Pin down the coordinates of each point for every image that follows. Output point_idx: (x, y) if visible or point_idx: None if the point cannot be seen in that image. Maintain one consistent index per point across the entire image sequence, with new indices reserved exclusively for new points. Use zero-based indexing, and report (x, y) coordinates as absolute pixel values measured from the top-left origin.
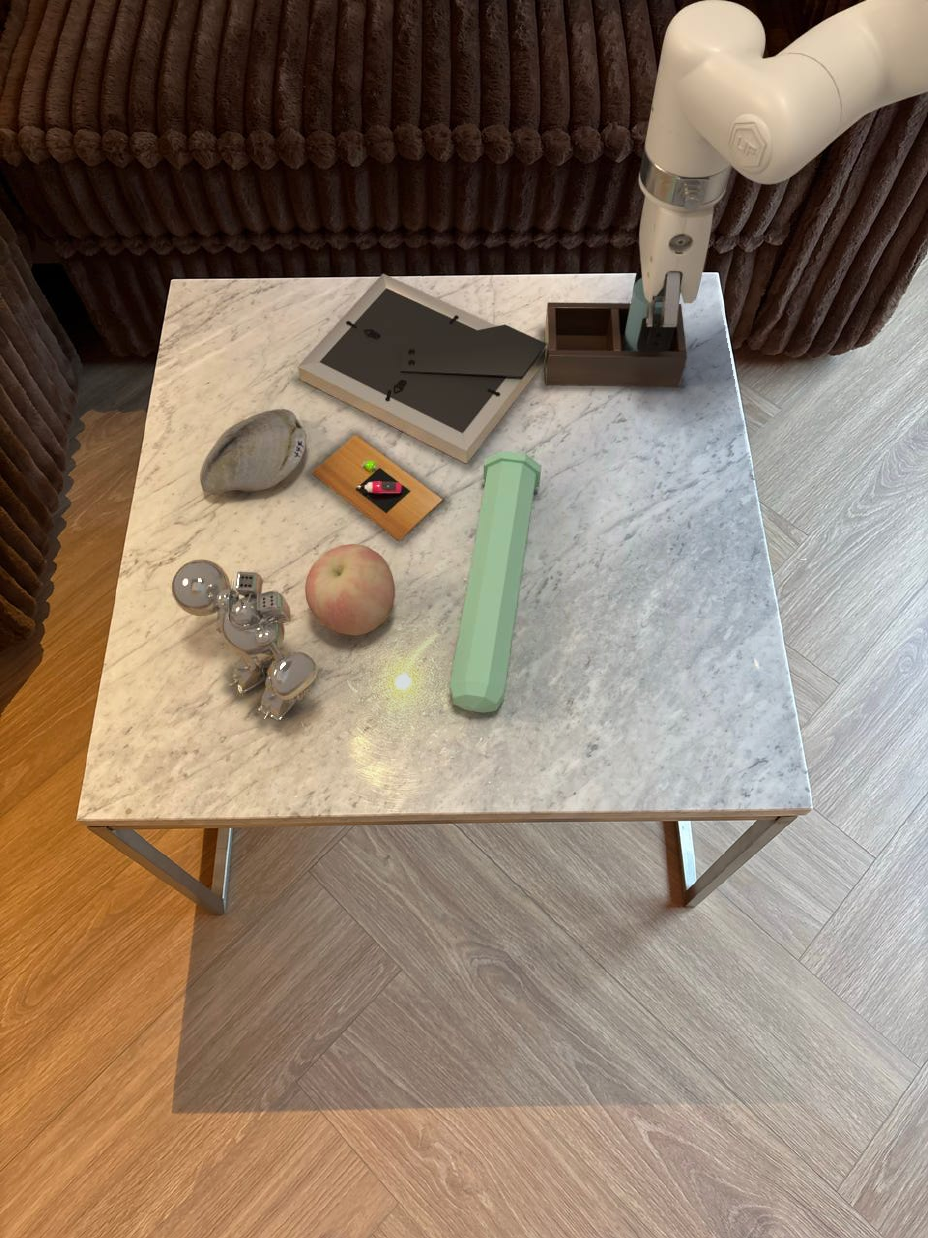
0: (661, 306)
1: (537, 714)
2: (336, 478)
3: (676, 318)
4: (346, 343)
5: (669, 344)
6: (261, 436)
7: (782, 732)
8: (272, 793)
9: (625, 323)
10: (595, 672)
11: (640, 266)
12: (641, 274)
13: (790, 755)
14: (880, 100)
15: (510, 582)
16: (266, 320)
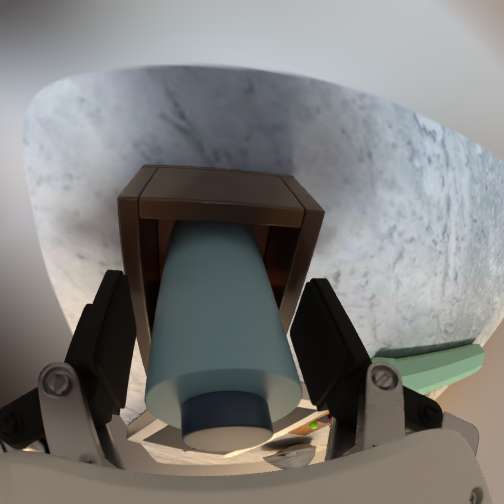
0: (298, 397)
1: (486, 323)
2: (313, 429)
3: (476, 444)
4: (206, 451)
5: (332, 292)
6: (296, 466)
7: None
8: (439, 393)
9: (154, 287)
10: (493, 298)
11: (114, 412)
12: (124, 392)
13: None
14: None
15: (457, 370)
16: (174, 452)
